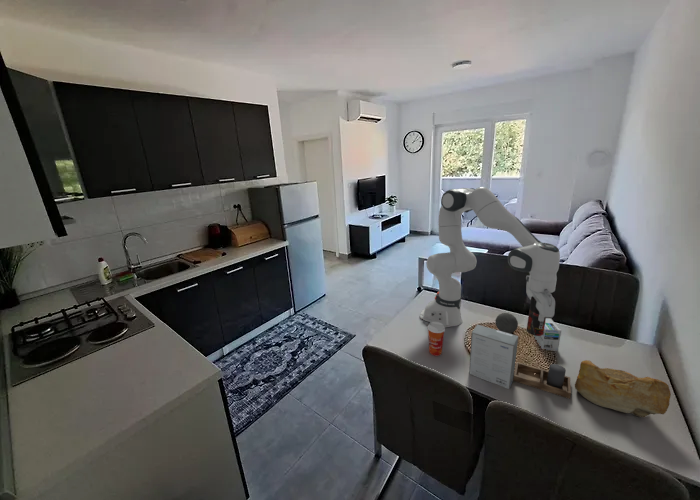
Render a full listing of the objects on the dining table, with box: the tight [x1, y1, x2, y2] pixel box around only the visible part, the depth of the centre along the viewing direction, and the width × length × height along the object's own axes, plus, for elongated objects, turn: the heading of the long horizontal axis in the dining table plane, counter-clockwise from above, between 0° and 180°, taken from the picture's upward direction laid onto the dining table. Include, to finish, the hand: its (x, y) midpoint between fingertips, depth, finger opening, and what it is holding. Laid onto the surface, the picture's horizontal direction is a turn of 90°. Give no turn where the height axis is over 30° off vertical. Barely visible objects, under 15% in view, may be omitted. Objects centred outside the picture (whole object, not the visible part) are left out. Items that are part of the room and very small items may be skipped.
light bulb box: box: [533, 317, 562, 352], centre depth 136 cm, size 11×7×11 cm, turn 168°
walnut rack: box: [513, 361, 572, 399], centre depth 114 cm, size 18×9×3 cm, turn 56°
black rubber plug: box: [547, 363, 566, 389], centre depth 111 cm, size 5×5×8 cm
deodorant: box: [526, 296, 547, 336], centre depth 119 cm, size 6×6×15 cm
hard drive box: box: [468, 324, 519, 390], centre depth 117 cm, size 16×8×20 cm, turn 50°
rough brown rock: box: [574, 359, 672, 418], centre depth 103 cm, size 23×17×15 cm
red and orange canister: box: [426, 322, 446, 357], centre depth 134 cm, size 8×8×14 cm
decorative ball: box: [494, 312, 519, 334], centre depth 147 cm, size 10×10×10 cm
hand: (537, 315), depth 119 cm, fingers closed on deodorant, 6 cm apart
